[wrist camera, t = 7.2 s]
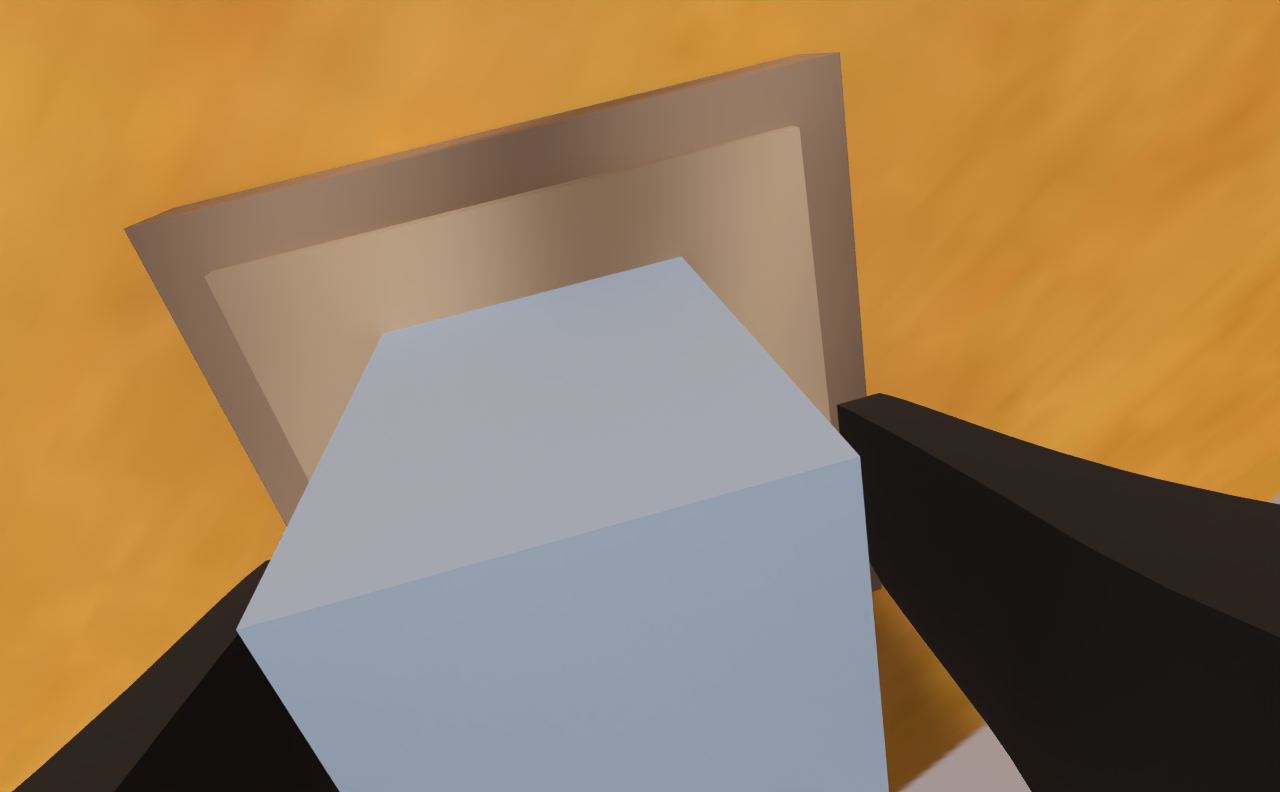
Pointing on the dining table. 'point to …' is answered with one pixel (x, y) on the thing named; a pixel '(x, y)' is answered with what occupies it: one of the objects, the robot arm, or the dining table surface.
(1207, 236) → the dining table surface
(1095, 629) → the robot arm
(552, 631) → the blue block
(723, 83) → the walnut plinth
